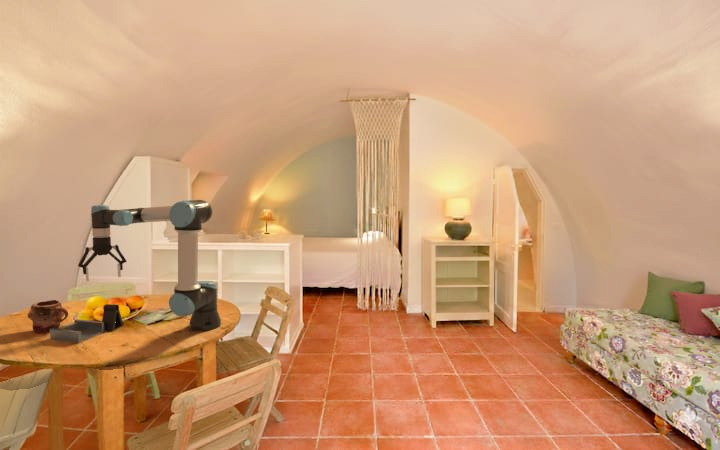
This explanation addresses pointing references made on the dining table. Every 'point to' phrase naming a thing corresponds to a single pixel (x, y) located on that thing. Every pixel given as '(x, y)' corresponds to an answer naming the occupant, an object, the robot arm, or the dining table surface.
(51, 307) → the brown clay mug
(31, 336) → the dining table surface
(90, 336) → the bracket
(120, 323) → the door stopper
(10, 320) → the dining table surface
